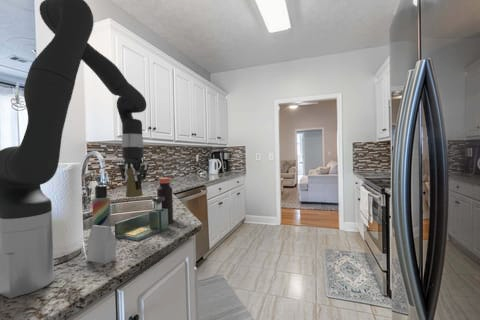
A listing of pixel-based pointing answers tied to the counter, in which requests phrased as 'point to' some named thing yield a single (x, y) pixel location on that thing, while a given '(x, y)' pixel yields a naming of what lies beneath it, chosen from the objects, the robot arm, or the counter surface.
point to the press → (142, 225)
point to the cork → (132, 185)
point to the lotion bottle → (101, 207)
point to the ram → (158, 203)
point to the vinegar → (166, 196)
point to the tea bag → (101, 245)
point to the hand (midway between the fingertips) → (134, 190)
